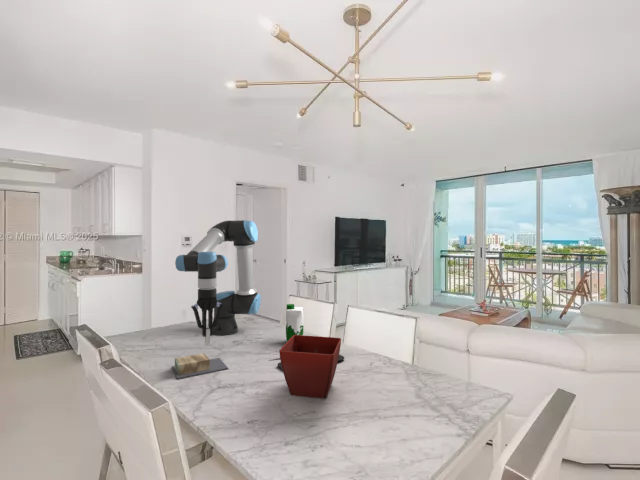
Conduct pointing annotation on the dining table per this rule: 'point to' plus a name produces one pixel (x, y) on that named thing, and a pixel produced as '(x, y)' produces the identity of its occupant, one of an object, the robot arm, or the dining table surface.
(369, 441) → the dining table surface
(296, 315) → the milk carton
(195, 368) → the oak slab
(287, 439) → the dining table surface
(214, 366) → the rubber mat
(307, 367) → the plant pot
